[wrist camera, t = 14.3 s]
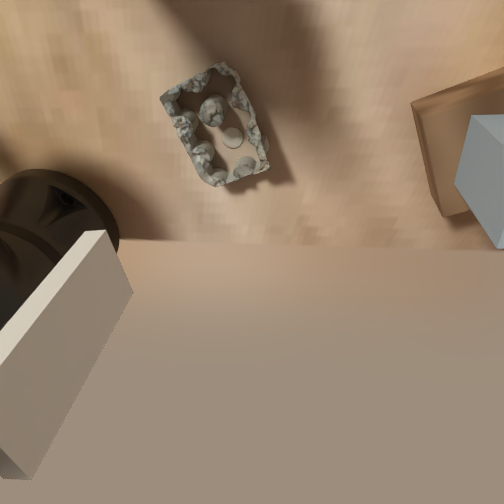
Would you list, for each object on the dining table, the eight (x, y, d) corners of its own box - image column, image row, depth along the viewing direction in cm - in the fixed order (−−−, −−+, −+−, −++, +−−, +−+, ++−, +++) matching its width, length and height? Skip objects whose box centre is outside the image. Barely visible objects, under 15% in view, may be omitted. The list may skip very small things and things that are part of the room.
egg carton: (277, 157, 41) (275, 174, 38) (213, 179, 44) (205, 197, 40) (236, 51, 36) (229, 60, 33) (166, 83, 38) (152, 94, 35)
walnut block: (430, 193, 42) (442, 217, 38) (409, 101, 37) (421, 118, 33) (540, 160, 38) (566, 182, 34) (533, 54, 33) (564, 66, 29)
